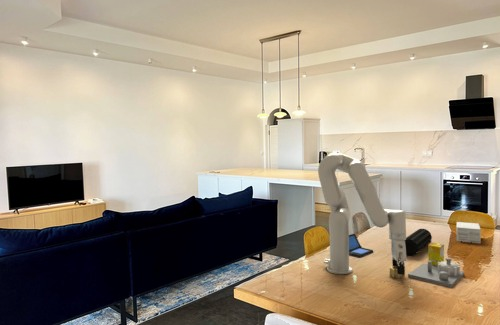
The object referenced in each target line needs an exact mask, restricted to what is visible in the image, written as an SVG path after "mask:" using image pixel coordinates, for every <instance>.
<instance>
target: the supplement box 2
mask: <svg viewBox="0 0 500 325" xmlns="http://www.w3.org/2000/svg"><path fill="white" fill-rule="evenodd" d="M455 226H456V241H457V242H461V241H462V242H463V243H471V242H472V243H473V244H481V239H482V236H481V235H482V233H481V231H482V230H481V227H480V224H479V223H478V222H475V223H474V222H462V221H456V225H455ZM462 242H461V243H462ZM472 243H471V244H472Z"/></svg>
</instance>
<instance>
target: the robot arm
mask: <svg viewBox="0 0 500 325" xmlns="http://www.w3.org/2000/svg"><path fill="white" fill-rule="evenodd" d="M337 170H338V171H340V172H343V173H346V174H348V176H349V178H350V180H351V182H352V184H353V186H354V188H355V190H356V191H357V195H358V197H359V198H360V199H359V200H360V201H361V203H362V204H363V207H364V209H365V212H366V213H367V215H368V217H369V219H370V221H371V223H372V224H373V225H374V226H375V227H376V228H381V229H382V228H385V227H386V226H387V225H388V234H389V235H388V236H389V240H391V243H390V244H391V246H390V247H391V248H390V249H391V256H392V259H391V260H392V262H391V263H392V264H391V265H392V266H397V274H406V269H405V268H406V266H405V265H406V264H405V262H406V261H407V260H408V259H407V255H406V246H405V240H406V238H407V228H406V227H407V225H406V224H407V223H406V219H407V218H406V216H407V215H406V212H405V210H402V209H387V208H383V206H382V203H381V200H380V199H379V197H378V192H377V189H376V187H375V185H374V183H373V181H372V179H371V177H370V175H369V173H368V171H367V169H366V165H365V163H364V162H363V161H362V160H360V159H356V158H354V157H350V156H349V155H345V154H343V153H340V152H332V153H331V152H330V153H329V154H327V155H326V156H324V157H323V158H322V160H321V161H320V162H319V165H318V169H317V173H318V174H317V175H318V178H319V182H320V186H321V187H320V188H321V190H322V194H323V198H324V202H325V204H326V205H327V206H329V210H330V214H329V216H328V229H329V230H328V231H329V258H324V260H323V264H326V265H327V266H326V270H327V272H329V273H331V274H336V275H347V274H351V273H352V272H353V268H352V267H351V266H350V255H349V235H350V232H349V223H350V219H351V211H350V207H349V205H348V200H347V197H346V194H345V192H344V190H343V189H342V188H341V187H340V186H339V185H340V184H339V182H338V178H337V176H336V171H337Z"/></svg>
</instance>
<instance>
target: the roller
mask: <svg viewBox="0 0 500 325" xmlns="http://www.w3.org/2000/svg"><path fill="white" fill-rule="evenodd" d="M432 238H433V236H432V234H431V231H429V230H428V229H426V228H419V229H417V230H415V231H413V233H411V234H409V235H408V236H406V240H405V246H406V257H407V256H409V257H414V256H415V255H418V253H419V252H420V251H421V250H423V249H424V248H425V247H427V246H428V245H430V244H431V243H432V242H431V241H432Z"/></svg>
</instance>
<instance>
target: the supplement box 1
mask: <svg viewBox="0 0 500 325" xmlns="http://www.w3.org/2000/svg"><path fill="white" fill-rule="evenodd" d="M427 247H428V250H427V251H428V252H427V253H428V256H427V258H428V260H427V262H428V261H432V265H433V266H438V262H441V261H443V262H445V244H443V243H436V242H430V243H429V244H427Z"/></svg>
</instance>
